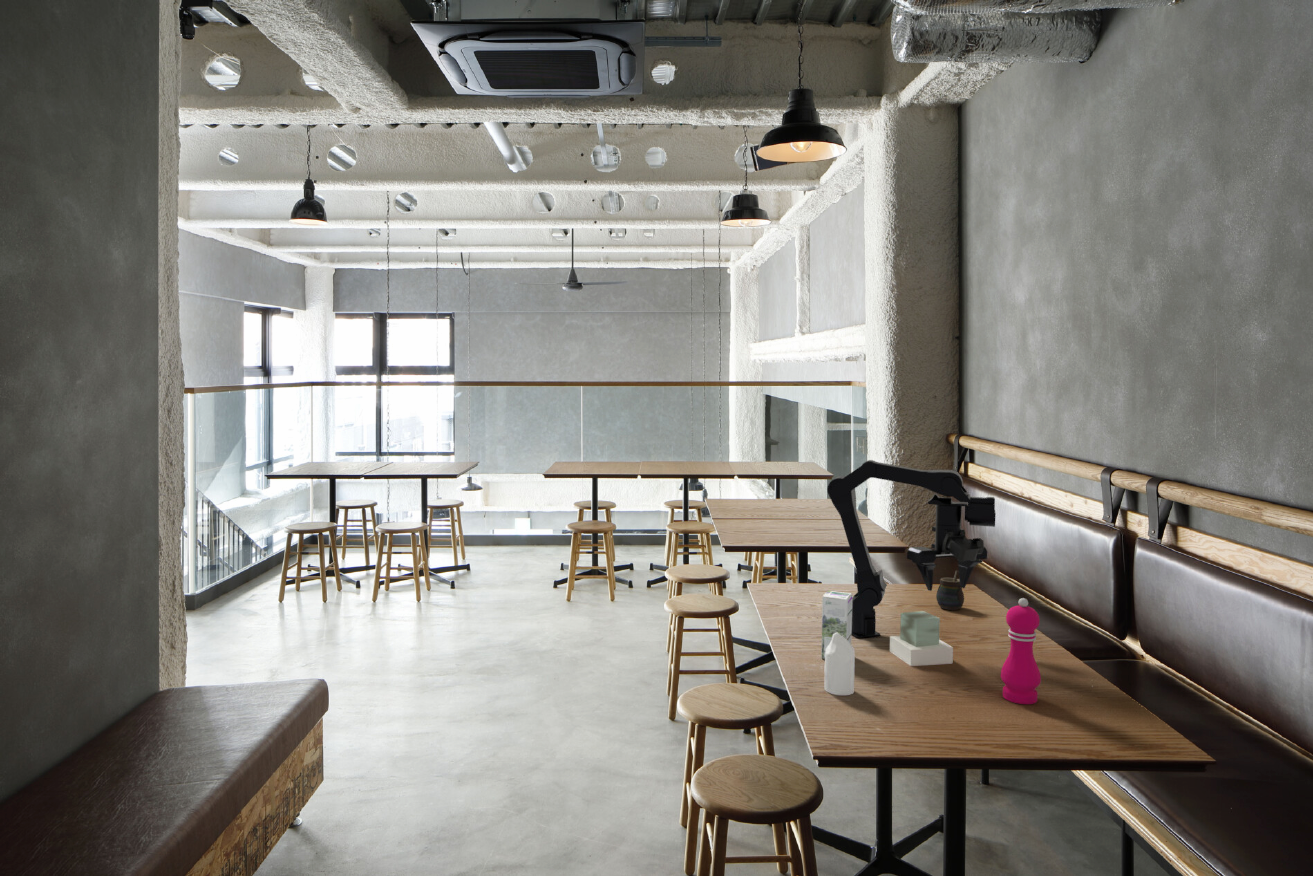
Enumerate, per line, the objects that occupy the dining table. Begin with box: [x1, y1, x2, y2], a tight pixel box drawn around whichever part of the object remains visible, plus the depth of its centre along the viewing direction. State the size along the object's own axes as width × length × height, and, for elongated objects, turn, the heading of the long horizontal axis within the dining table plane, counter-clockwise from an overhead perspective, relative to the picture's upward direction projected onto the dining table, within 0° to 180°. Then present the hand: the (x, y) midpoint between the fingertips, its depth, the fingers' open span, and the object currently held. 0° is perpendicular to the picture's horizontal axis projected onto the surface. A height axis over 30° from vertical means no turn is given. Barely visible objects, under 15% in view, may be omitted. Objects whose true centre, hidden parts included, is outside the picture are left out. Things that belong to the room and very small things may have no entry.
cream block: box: [889, 635, 954, 667], centre depth 188 cm, size 10×10×4 cm
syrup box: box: [820, 590, 853, 660], centre depth 187 cm, size 6×6×14 cm
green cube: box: [899, 610, 941, 647], centre depth 188 cm, size 6×6×6 cm
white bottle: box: [823, 633, 856, 696], centre depth 167 cm, size 6×12×6 cm
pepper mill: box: [1000, 597, 1042, 705], centre depth 163 cm, size 7×7×20 cm
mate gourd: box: [935, 570, 965, 611], centre depth 229 cm, size 7×8×10 cm
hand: (946, 589), depth 198 cm, fingers open, 9 cm apart
